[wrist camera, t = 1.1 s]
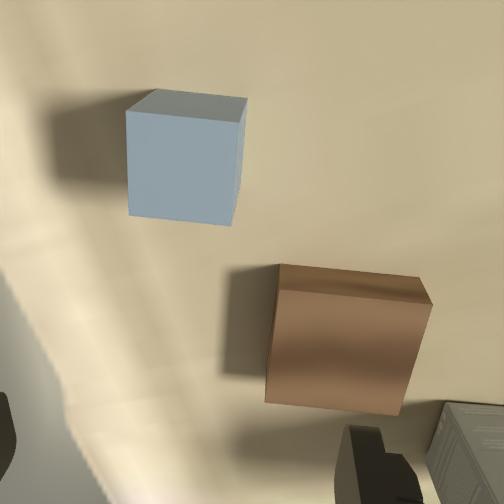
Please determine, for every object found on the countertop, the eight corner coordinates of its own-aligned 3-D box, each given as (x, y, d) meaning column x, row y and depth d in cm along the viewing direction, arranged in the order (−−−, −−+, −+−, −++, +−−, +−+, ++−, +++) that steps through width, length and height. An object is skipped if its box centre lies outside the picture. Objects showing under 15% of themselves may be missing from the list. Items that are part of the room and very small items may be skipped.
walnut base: (279, 260, 31) (279, 289, 28) (417, 274, 31) (432, 304, 28) (266, 367, 36) (264, 402, 32) (388, 379, 35) (398, 416, 32)
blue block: (157, 88, 26) (125, 110, 21) (247, 98, 26) (239, 122, 21) (157, 175, 29) (128, 215, 23) (240, 184, 29) (230, 226, 23)
